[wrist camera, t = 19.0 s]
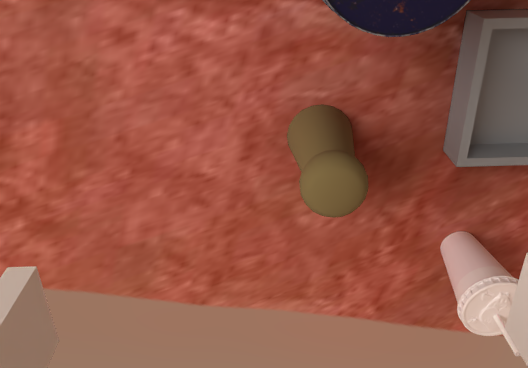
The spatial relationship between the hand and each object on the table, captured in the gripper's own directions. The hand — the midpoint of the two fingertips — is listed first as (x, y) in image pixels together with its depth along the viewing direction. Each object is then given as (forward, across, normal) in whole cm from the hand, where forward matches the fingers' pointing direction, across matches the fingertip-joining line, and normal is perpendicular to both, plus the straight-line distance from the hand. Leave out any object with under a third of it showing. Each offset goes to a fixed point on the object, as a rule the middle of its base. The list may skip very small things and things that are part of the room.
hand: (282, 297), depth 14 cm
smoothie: (+32, +20, -22) cm, 44 cm away
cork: (+32, +5, -9) cm, 34 cm away
